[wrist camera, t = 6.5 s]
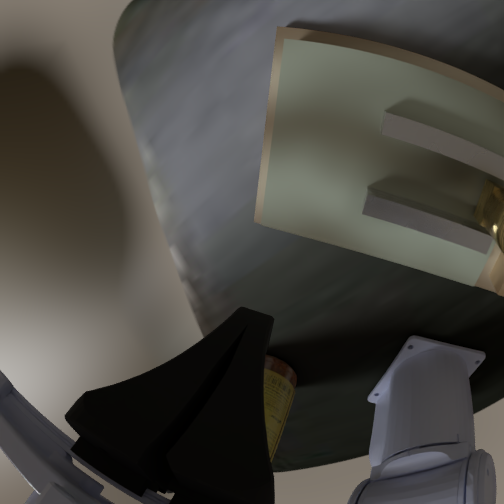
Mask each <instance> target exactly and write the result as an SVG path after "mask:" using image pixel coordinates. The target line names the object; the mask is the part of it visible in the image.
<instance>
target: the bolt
mask: <svg viewBox="0 0 504 504" xmlns="http://www.w3.org/2000/svg"><path fill="white" fill-rule="evenodd" d="M473 216H474V217H475V219H476V220H477V221H478V223H479V224H480V226H483V227H485V228H486V229H487V230H488V232H489V233H490V235H491V236H492V238H493V239H494V241H495V242H496V244H497V245H498V247H499V248H500V250H501V251H502V253H503V254H504V187H503V186H501V185H499V184H497V183H494V182H492V181H490V180H488V179H486V180H485V183H484V186H483V189H482V192H481V195H480V198H479V201H478V204H477V207H476V209H475V212H474V215H473Z"/></svg>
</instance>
